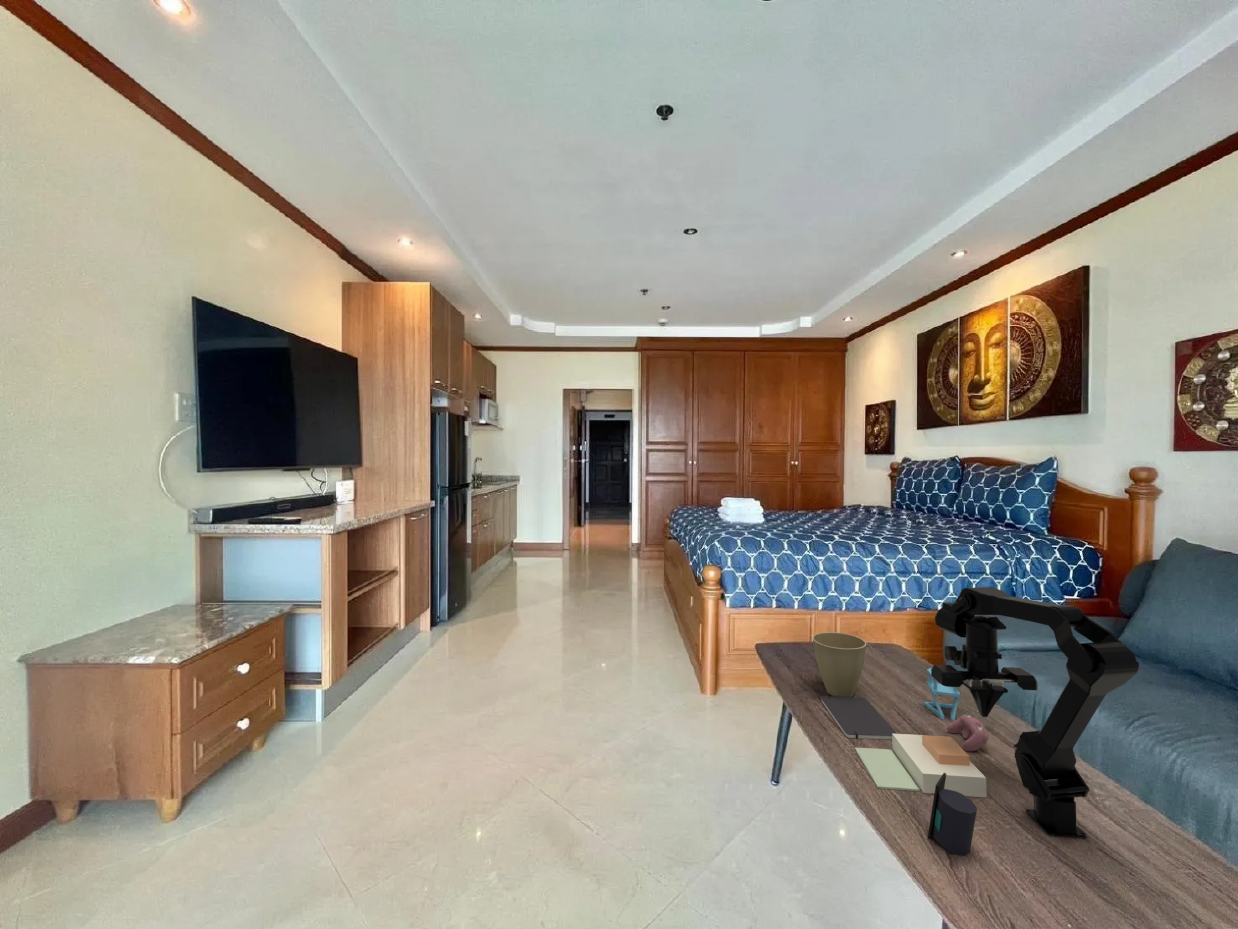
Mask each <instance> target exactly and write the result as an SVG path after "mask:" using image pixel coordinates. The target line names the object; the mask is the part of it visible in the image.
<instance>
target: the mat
mask: <svg viewBox="0 0 1238 929" xmlns="http://www.w3.org/2000/svg"><path fill="white" fill-rule="evenodd" d="M854 751H856V754H857V756H858V757H859V758H860V761H861V762H862V763H863V765H864V767H865V769H866V771H867V773H868V774H869V775H870V777H871V779H872V782H873V783H874V784H875V786H876V787H877V789H884V790H897V791H912V792H921V789H920V788H919V786H918V785H917V784H916V782H915V781H914V779H913V778H912V777H911V775H910V774H909V772H908V771H907V770H906V768H905V767H904V765H903V764H902V763H901V761H900V760H899V759H898V757H897V756H896V754H895V753H894V752H893V749H886V748H870V747H854Z"/></svg>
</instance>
